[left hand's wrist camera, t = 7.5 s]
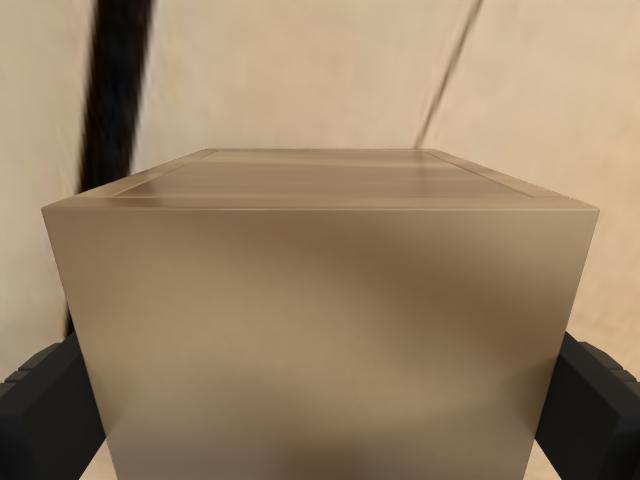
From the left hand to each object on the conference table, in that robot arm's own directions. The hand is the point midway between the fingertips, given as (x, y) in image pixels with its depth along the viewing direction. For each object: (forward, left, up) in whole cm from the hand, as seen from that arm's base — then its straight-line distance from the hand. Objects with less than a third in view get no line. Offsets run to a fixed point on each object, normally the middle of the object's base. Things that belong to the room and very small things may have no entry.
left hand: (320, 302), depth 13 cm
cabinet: (+3, -2, -6) cm, 7 cm away
